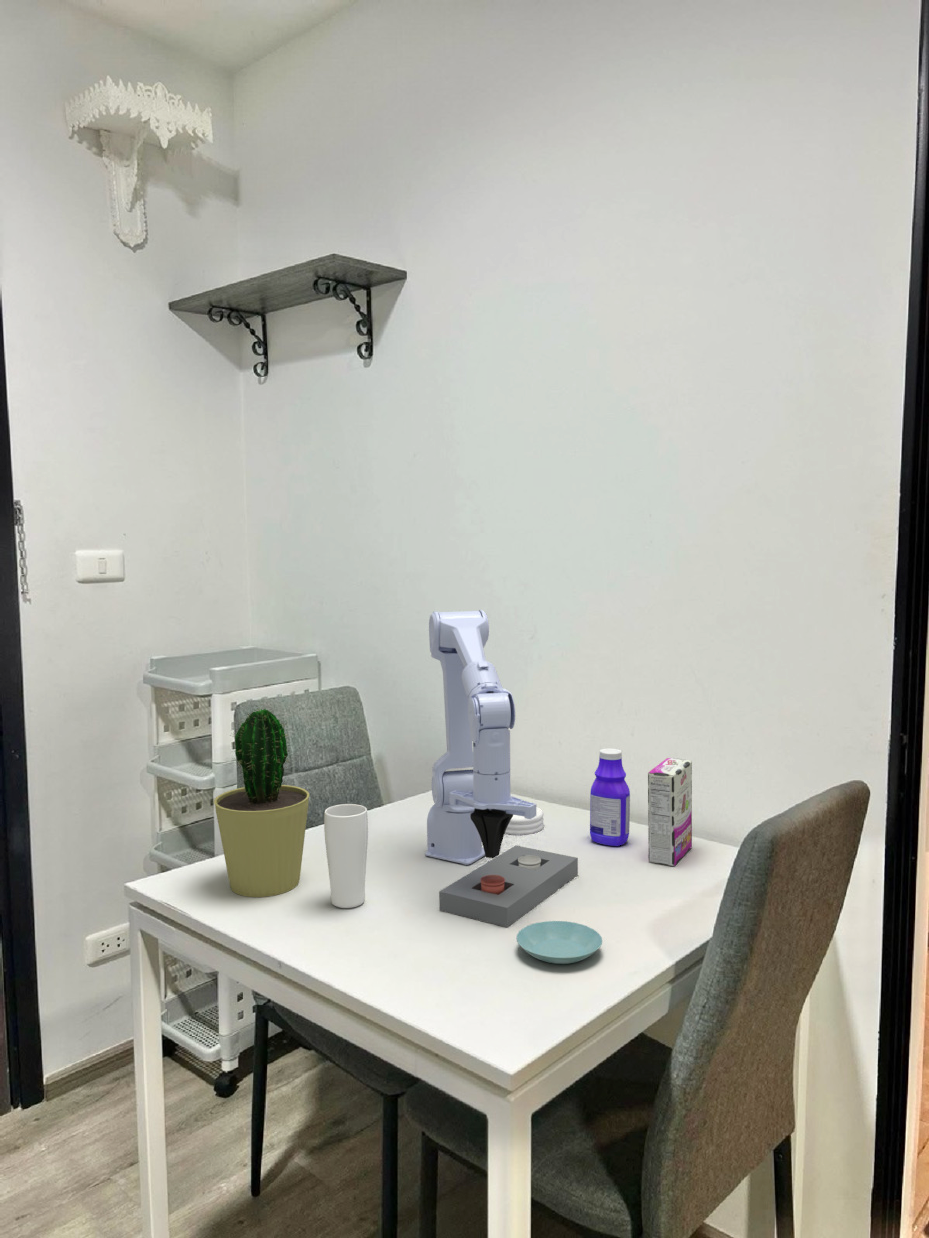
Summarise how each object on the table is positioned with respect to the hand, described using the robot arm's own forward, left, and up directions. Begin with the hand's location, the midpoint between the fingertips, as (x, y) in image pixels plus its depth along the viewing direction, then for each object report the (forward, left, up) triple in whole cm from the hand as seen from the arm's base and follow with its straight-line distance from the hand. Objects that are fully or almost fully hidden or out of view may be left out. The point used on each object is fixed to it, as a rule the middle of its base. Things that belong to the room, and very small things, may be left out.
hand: (492, 855), depth 143 cm
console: (0, +6, -8) cm, 10 cm away
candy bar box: (+16, +35, -8) cm, 39 cm away
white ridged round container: (-15, +35, -8) cm, 39 cm away
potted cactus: (-37, -12, -8) cm, 40 cm away
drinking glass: (-20, -11, -8) cm, 24 cm away
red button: (0, 0, -7) cm, 7 cm away
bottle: (+4, +36, -8) cm, 37 cm away
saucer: (+16, -9, -8) cm, 20 cm away
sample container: (0, +12, -7) cm, 14 cm away
